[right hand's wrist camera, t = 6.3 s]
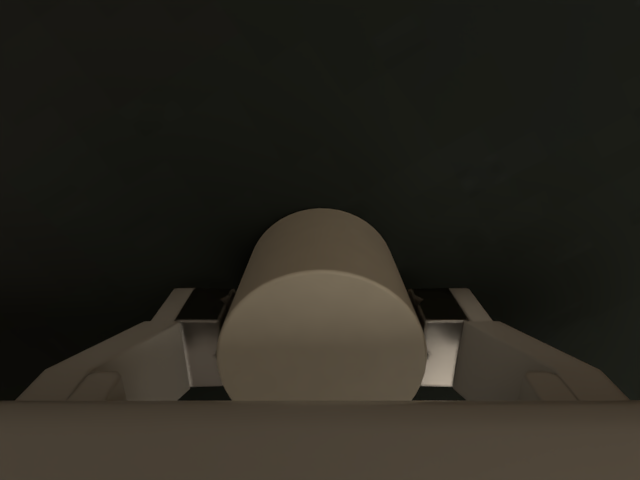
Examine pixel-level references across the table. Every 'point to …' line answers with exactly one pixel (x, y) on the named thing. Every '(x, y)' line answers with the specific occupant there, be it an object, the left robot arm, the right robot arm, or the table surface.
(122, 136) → the table surface
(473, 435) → the right robot arm
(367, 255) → the can
